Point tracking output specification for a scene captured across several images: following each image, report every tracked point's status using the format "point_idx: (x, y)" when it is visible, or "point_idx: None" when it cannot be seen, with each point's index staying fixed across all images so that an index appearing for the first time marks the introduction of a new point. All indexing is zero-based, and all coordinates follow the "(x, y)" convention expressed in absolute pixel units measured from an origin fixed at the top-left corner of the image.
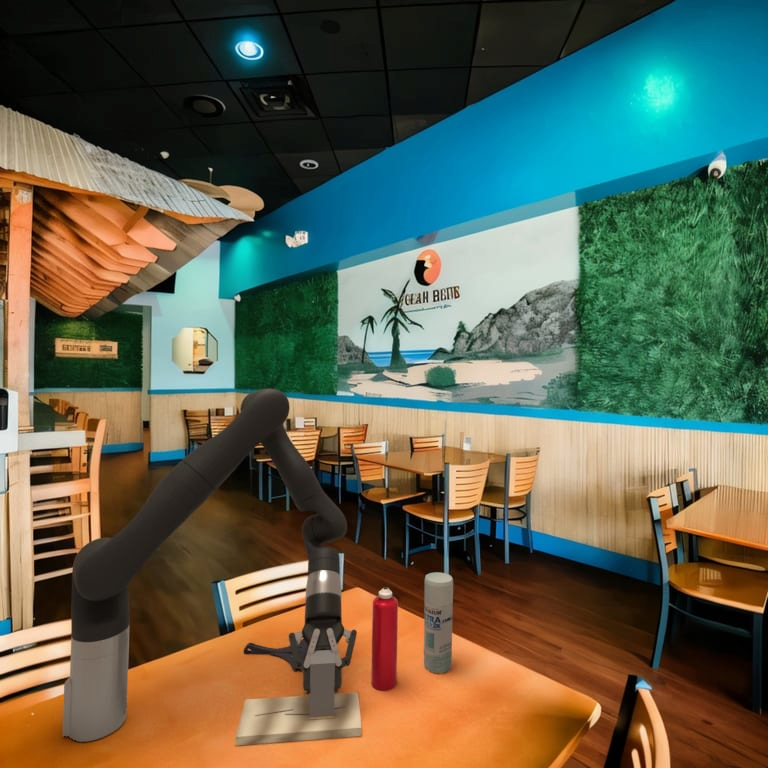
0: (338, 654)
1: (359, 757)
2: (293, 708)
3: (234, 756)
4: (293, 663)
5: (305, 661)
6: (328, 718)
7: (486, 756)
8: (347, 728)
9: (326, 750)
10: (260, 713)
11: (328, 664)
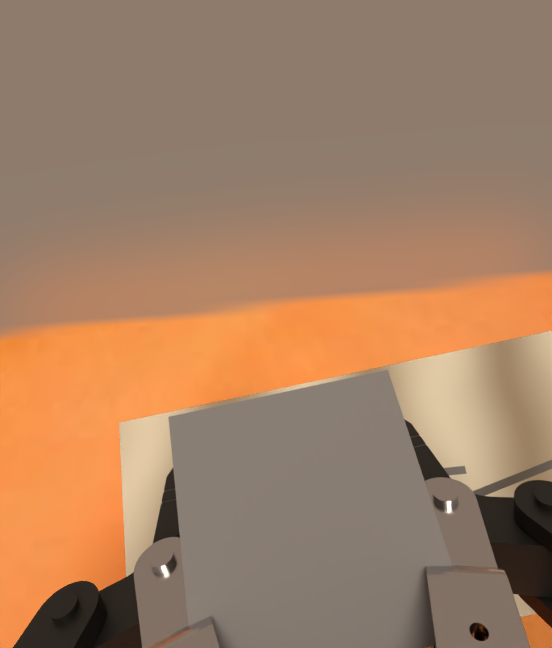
0: (151, 633)
1: (140, 334)
2: None
3: (545, 293)
4: None
5: (472, 517)
6: None
7: None
8: (176, 411)
9: (251, 350)
10: None
11: (228, 405)
